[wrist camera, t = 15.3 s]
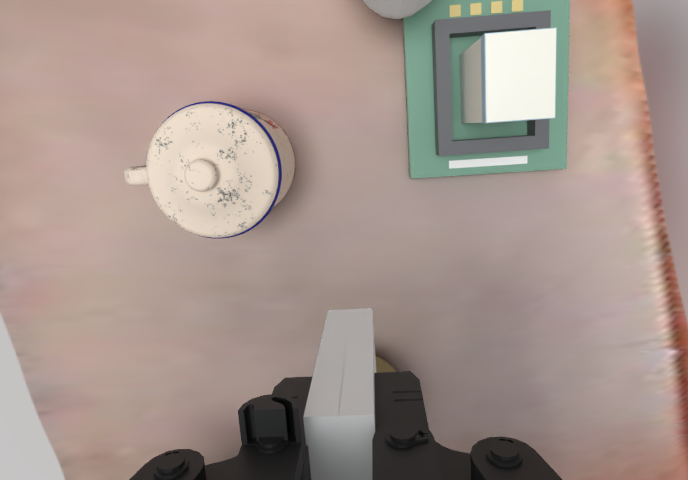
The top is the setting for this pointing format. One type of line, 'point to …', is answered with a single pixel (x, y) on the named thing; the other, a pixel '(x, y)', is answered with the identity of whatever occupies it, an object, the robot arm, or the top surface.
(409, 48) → the header board
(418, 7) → the white round bottle
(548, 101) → the plug
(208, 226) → the teacup with lid
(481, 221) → the top surface
